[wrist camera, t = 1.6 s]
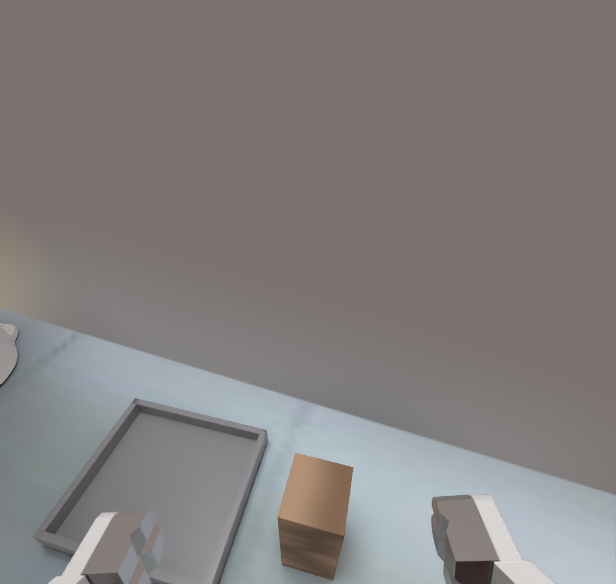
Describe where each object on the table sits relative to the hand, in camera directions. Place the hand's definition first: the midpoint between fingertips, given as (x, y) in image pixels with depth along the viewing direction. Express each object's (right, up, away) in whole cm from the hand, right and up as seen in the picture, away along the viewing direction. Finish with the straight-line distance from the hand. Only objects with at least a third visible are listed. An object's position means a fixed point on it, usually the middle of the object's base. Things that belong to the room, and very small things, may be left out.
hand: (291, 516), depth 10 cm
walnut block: (+1, -16, +21) cm, 27 cm away
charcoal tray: (-13, -13, +24) cm, 31 cm away
